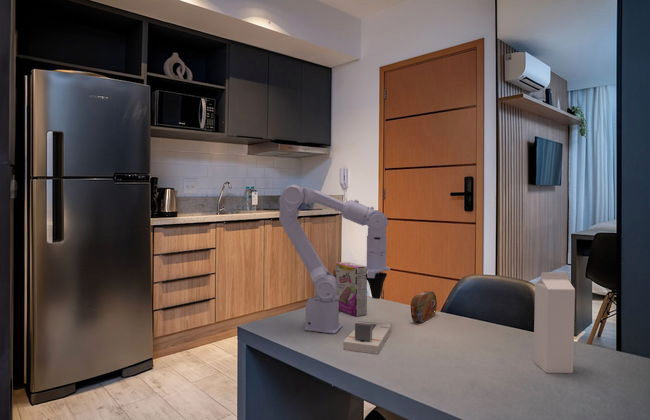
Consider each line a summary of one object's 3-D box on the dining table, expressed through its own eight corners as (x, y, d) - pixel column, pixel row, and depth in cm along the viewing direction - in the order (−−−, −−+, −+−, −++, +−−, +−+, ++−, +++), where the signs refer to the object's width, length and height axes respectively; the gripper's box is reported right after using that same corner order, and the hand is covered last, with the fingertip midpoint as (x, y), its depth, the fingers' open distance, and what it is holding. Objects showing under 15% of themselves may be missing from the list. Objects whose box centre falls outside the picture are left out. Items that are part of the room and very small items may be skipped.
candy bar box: (334, 309, 141) (334, 262, 141) (345, 307, 144) (346, 261, 144) (356, 317, 132) (356, 267, 132) (367, 315, 135) (367, 265, 135)
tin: (418, 325, 124) (418, 298, 124) (408, 323, 126) (408, 296, 126) (437, 314, 136) (437, 289, 136) (428, 313, 138) (428, 288, 138)
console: (343, 349, 105) (343, 341, 104) (361, 328, 121) (361, 321, 121) (377, 354, 102) (377, 345, 101) (391, 331, 118) (391, 324, 118)
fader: (354, 339, 106) (355, 323, 105) (357, 336, 108) (357, 320, 108) (370, 340, 104) (370, 325, 104) (372, 337, 106) (372, 322, 106)
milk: (533, 362, 97) (534, 269, 96) (559, 362, 97) (560, 270, 96) (546, 373, 91) (547, 274, 90) (574, 373, 91) (575, 274, 90)
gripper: (385, 256, 111) (384, 305, 111) (394, 249, 125) (394, 293, 125) (360, 254, 113) (359, 303, 114) (371, 248, 127) (371, 291, 128)
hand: (376, 298), depth 120 cm, fingers closed
